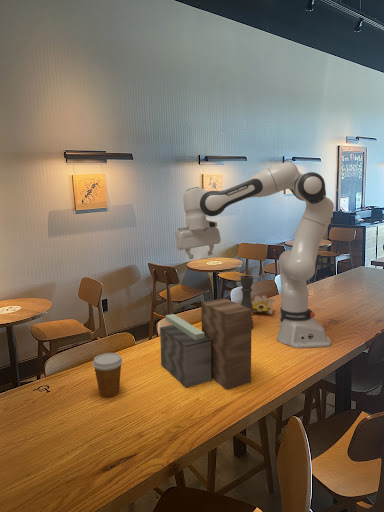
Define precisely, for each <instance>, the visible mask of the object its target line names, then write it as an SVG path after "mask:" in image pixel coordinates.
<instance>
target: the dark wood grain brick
mask: <svg viewBox="0 0 384 512" xmlns="http://www.w3.org/2000/svg"><path fill="white" fill-rule="evenodd" d="M159 334H160V336H159V337H160V338H159V339H160V364H161V366H162V367H163V368H164V369H165V370H166V371H167V372H168V373H169V374H171V376H173V377H174V378H175V380H177V381H178V382H179V383H180V384H181V385H182V386H183V387H184V388H191V387H195V386H197V385H201V384H204V383H207V382H211V381H212V378H211V339H209V338H208V337H206V336H205V338H204V339H199V340H194V339H193V338H191V337H190V336H188V335H187V334H185V333H184V332H182V331H181V330H179V329H178V328H176V327H175V326H173V325H172V324H169V325H165V326H160V327H159Z"/></svg>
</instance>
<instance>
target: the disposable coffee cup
mask: <svg viewBox="0 0 384 512" xmlns="http://www.w3.org/2000/svg"><path fill="white" fill-rule="evenodd" d="M122 364H123V358H122V356H121V355H120V354H118V353H116V352H106V353H101V354H99V355H96V356H95V357H94V358H93V362H92V366H93V368H94V372H95V373H94V374H95V377H96V382H97V386H98V387H97V388H98V392H99V396H100V397H103V398H113V397H115V396H117V395H118V394H119V392H120V381H121V372H122V371H121V370H122Z"/></svg>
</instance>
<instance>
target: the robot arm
mask: <svg viewBox="0 0 384 512" xmlns="http://www.w3.org/2000/svg"><path fill="white" fill-rule="evenodd" d="M288 189H289V190H290V192H291V193H292V194H293V195H294V197H296V199H298V200H299V201H303V202H305V210H304V212H303V215H302V216H301V219H300V221H299V224H298V226H297V228H296V230H295V232H294V238H293V243H292V244H293V245H292V248H291V249H288V250H284V251H283V252H282V253H281V254H280V255H279V257H278V264H279V265H278V266H279V275H280V279H279V280H280V286H281V304H280V305H281V306H280V310H279V321H280V324H279V329H278V334H277V336H276V339H277V341H278V342H280V343H281V344H284V345H288V346H291V348H295V349H301V348H302V349H303V348H306V349H307V348H321V347H322V348H323V347H325V348H326V347H330V346H331V344H332V341H331V338H330V337H329V336H328V335H327V334H326V330H325V328H324V325H322V324H321V323H320V322H318V321H317V320H316V319H315V317H316V314H315V312H314V311H313V310H312V309H310V308H309V307H308V306H309V289H308V285H307V281H309V280H310V279H312V278H313V277H314V275H315V272H316V261H317V258H318V253H319V250H320V246H321V243H322V241H323V238H324V236H325V234H326V232H327V229H328V227H329V224H330V222H331V219H332V217H333V213H334V207H335V206H334V202H333V201H332V200H331V198H328V197H326V196H327V191H326V183H325V179H324V178H323V176H322V175H321V174H319V173H317V172H313V171H310V172H307V173H301V172H300V171H299V169H298V167H297V165H296V164H295V163H293V162H292V161H287V162H281V163H278V164H275V165H271V166H269V167H267V168H265V169H262V170H261V171H260V170H259V171H258V172H257V173H255V174H253V175H252V176H250V178H248V179H246V180H245V181H243V182H241V183H239V184H237V185H234V186H231V187H229V188H226V189H224V190H206V189H203V188H201V187H200V186H195V187H191V188H189V189H187V190H185V192H184V193H183V198H182V200H183V210H184V213H185V224H186V226H184V227H179V228H178V229H176V230H175V238H176V248H177V250H179V251H182V250H185V253H186V254H187V256H188V259H189V260H193V259H194V258H195V257H194V254H192V253H191V249H195V248H200V247H206V246H208V248H209V250H208V251H207V256H209V257H210V256H213V250H214V248H215V245H217V244H218V245H219V244H220V243H221V240H222V239H221V233H220V230H219V228H218V222H217V221H213V220H208V219H207V216H209V217H216V216H218V215H221V214H222V213H223V212H224V211H225V209H226V208H227V207H229V206H231V205H232V204H236V203H238V202H240V201H244V200H245V199H246V200H247V199H249V198H262V197H267V196H268V197H269V196H272V195H274V194H277V193H280V192H281V191H285V190H288Z"/></svg>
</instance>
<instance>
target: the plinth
mask: <svg viewBox="0 0 384 512" xmlns="http://www.w3.org/2000/svg"><path fill="white" fill-rule="evenodd" d="M200 305H201V307H200V308H201V309H200V310H201V331H202V332H204V336H206V337H208V338H209V339H211V380H213V381H214V382H216V383H217V384H218V385H220V386H221V387H222V388H224V389H225V390H227V391H228V390H230V389H234V388H237V387H241V386H245V385H247V384H250V383H252V330H253V329H252V320H253V319H252V318H253V316H252V314H253V313H252V309H249V308H247V307H245V306H242V305H241V303H238V302H235V301H233V300H231V299H228V298H225V297H224V298H219V299H213V300H206V301H201V304H200Z"/></svg>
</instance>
